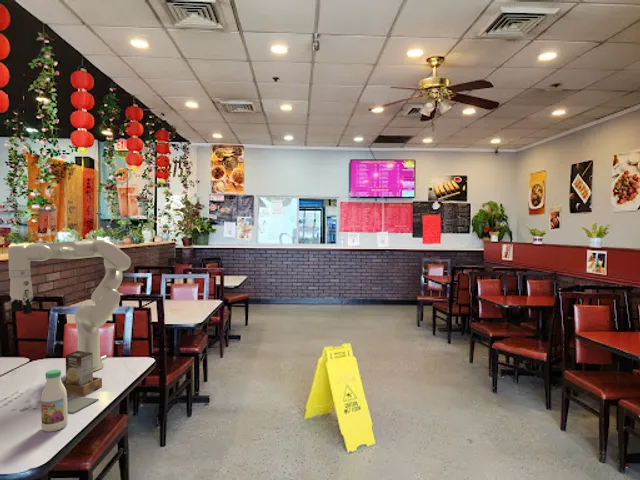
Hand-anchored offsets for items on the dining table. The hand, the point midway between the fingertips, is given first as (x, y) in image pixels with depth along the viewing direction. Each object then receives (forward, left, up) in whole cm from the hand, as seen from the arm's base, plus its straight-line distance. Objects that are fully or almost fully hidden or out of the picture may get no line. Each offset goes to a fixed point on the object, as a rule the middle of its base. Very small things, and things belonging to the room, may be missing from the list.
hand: (21, 312), depth 180 cm
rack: (-3, +27, -33) cm, 43 cm away
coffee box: (-3, +27, -34) cm, 43 cm away
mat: (+10, +37, -33) cm, 51 cm away
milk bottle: (+26, +45, -34) cm, 62 cm away
